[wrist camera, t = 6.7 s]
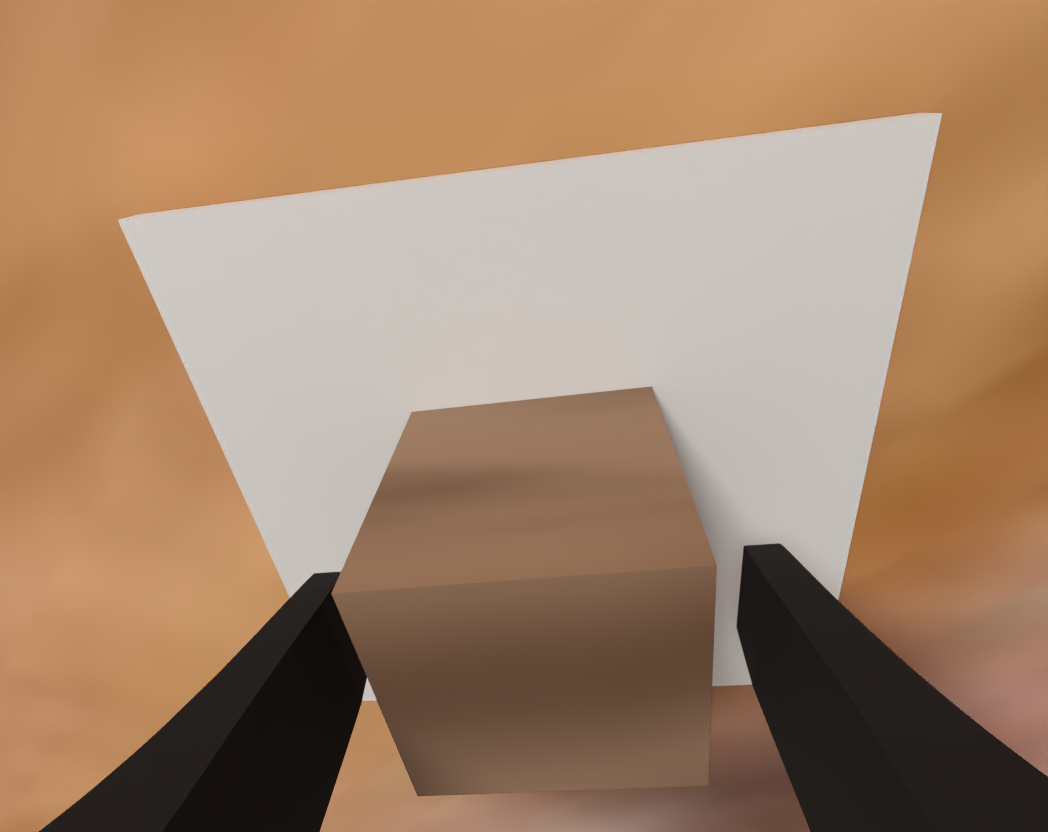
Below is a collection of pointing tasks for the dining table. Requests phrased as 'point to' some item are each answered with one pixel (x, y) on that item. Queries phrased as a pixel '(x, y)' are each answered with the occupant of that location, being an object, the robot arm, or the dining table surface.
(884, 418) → the dining table surface
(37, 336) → the dining table surface
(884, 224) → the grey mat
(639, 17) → the dining table surface
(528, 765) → the walnut cube
